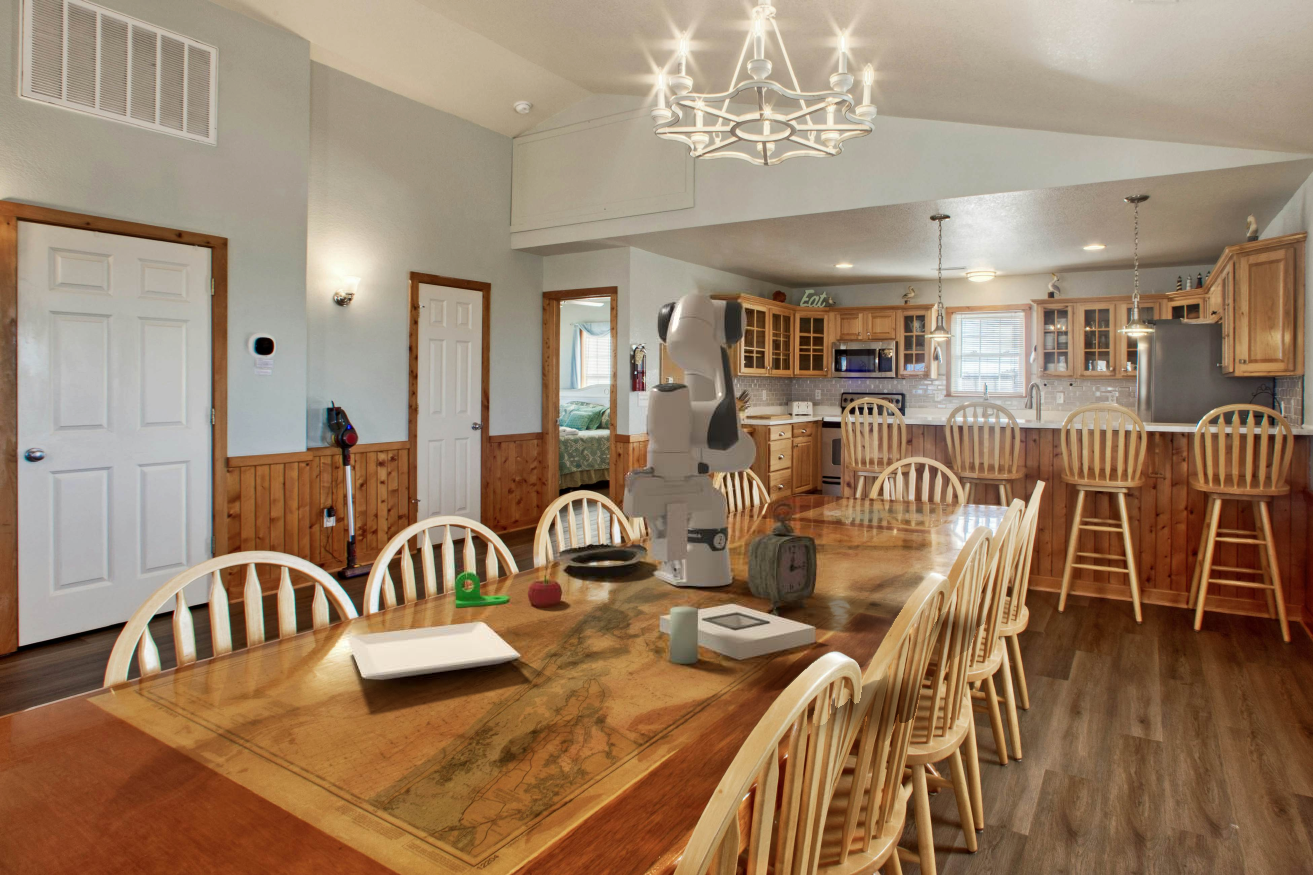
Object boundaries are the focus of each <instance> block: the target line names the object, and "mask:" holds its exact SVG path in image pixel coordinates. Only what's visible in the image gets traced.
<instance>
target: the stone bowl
mask: <svg viewBox="0 0 1313 875" xmlns="http://www.w3.org/2000/svg"><path fill="white" fill-rule="evenodd" d="M558 554H559V555H558V557H559V558H557V560H558V561H559V562H561V563H562V564H563V565H568V566H571V571H572V572H573V573H574V574H576V575H579V576H585V577H592V578H593V577H596V578H597V577H599V578H605V577H606V578H607V577H609V578H610V577H620V576H624V575H625V576H627V575H629V574H631V573H633V572H634V571H636V569H637V567H638V562H639V561H641V560H645V559H646V558H647V557H648V555H649V554H648V549H647V547H646V546H643V545H641V544H640V543H637V544H636V543H633V544H631V545H628V546H627V545H626V546H624V547H623V546H617V545H610V544H609V543H606V544H605V543H600V544H593V543H590V544H587V545H585V546H578V547H572V548H571V547H570V548H568V549H563V550H561V551H560V552H558ZM605 560H607V561H621V563H619V562H618V563H614V564H588V563H585V562H590V561H591V562H592V561H605ZM622 561H623V562H622Z"/></svg>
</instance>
